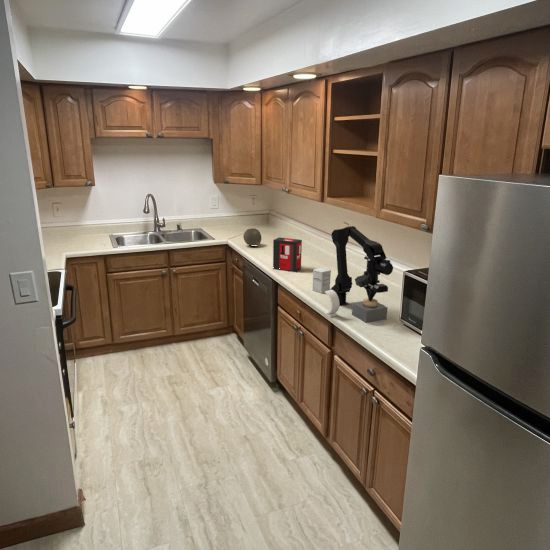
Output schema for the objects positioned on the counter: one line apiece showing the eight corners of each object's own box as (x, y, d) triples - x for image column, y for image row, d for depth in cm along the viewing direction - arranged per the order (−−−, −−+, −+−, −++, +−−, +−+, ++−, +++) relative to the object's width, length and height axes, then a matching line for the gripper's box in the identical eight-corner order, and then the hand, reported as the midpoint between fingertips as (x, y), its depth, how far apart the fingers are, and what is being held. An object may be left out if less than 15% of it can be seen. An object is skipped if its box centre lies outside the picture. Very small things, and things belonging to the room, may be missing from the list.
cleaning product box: (273, 269, 299) (273, 239, 293) (278, 266, 306) (278, 237, 301) (295, 272, 292) (296, 242, 286) (300, 269, 300) (301, 239, 294)
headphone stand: (330, 312, 224) (332, 289, 221) (338, 316, 219) (340, 293, 216) (323, 314, 222) (324, 291, 218) (331, 318, 217) (332, 294, 214)
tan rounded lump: (359, 310, 220) (360, 299, 218) (371, 308, 223) (371, 297, 221) (367, 315, 214) (368, 304, 212) (379, 313, 217) (380, 302, 215)
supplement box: (311, 290, 257) (312, 269, 254) (321, 287, 262) (321, 267, 258) (321, 293, 252) (322, 272, 248) (330, 291, 256) (331, 269, 253)
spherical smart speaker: (254, 244, 370) (254, 226, 366) (264, 247, 360) (265, 228, 355) (240, 246, 361) (240, 228, 357) (250, 249, 351) (250, 230, 347)
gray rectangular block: (351, 314, 222) (352, 302, 220) (375, 310, 227) (376, 299, 226) (365, 323, 211) (366, 310, 210) (389, 318, 217) (391, 306, 215)
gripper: (347, 266, 217) (345, 296, 222) (370, 277, 201) (367, 309, 205) (366, 264, 221) (364, 294, 226) (390, 274, 205) (387, 306, 210)
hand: (370, 300), depth 217 cm, fingers closed, pressing on tan rounded lump
